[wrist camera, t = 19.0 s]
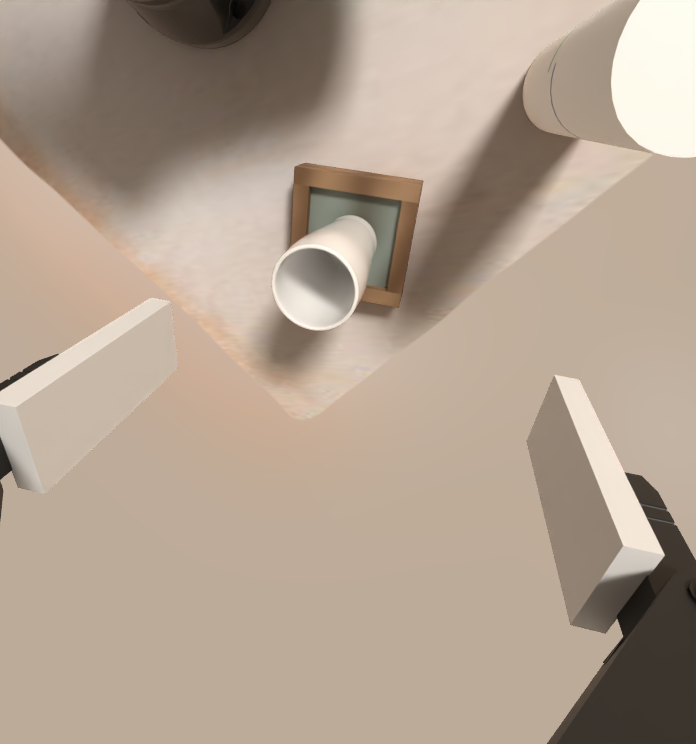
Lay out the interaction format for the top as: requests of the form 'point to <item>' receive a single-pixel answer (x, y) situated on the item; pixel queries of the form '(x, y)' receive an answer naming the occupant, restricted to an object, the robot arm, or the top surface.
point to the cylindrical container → (621, 79)
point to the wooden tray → (372, 203)
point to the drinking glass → (325, 274)
